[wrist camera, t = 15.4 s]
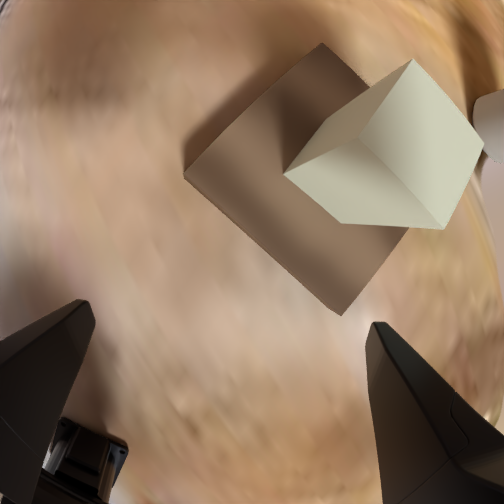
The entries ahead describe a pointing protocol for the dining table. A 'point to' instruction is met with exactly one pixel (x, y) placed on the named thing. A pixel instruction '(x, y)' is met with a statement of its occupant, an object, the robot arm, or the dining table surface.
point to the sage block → (391, 155)
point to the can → (490, 124)
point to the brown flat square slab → (285, 191)
